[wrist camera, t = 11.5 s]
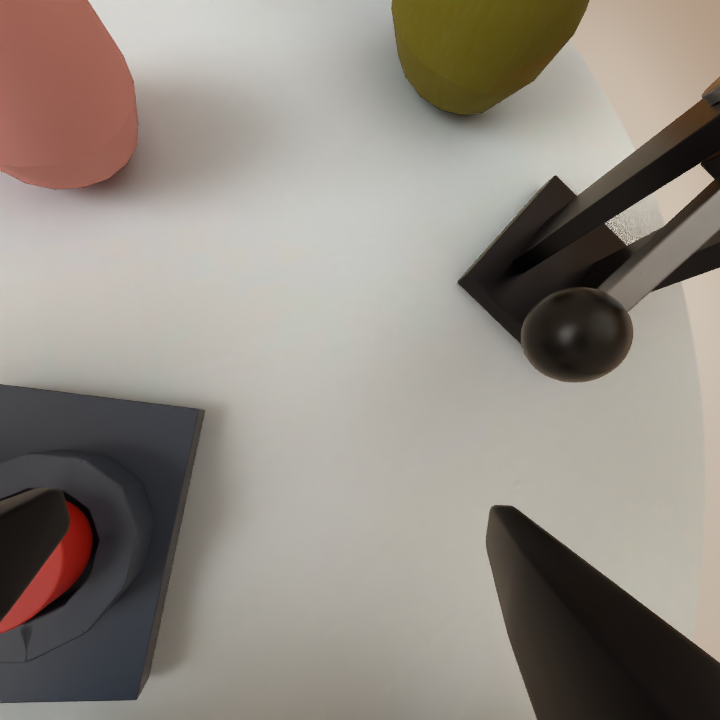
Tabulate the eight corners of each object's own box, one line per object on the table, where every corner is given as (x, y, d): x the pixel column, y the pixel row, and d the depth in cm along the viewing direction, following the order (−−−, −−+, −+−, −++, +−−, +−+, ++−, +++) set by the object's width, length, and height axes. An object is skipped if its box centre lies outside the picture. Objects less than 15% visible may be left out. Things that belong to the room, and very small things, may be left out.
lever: (549, 388, 15) (594, 414, 12) (491, 332, 15) (519, 341, 12) (802, 164, 13) (953, 112, 9) (736, 95, 13) (864, 18, 9)
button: (77, 609, 12) (44, 639, 10) (-46, 606, 11) (-102, 638, 10) (105, 499, 13) (78, 511, 11) (-9, 491, 12) (-56, 502, 10)
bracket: (551, 374, 21) (938, 304, 9) (456, 282, 21) (713, 72, 8) (625, 269, 24) (1000, 100, 11) (542, 186, 23) (832, -79, 11)
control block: (148, 678, 14) (113, 743, 11) (-87, 681, 13) (-196, 756, 10) (205, 409, 16) (188, 407, 14) (10, 385, 15) (-55, 376, 12)
